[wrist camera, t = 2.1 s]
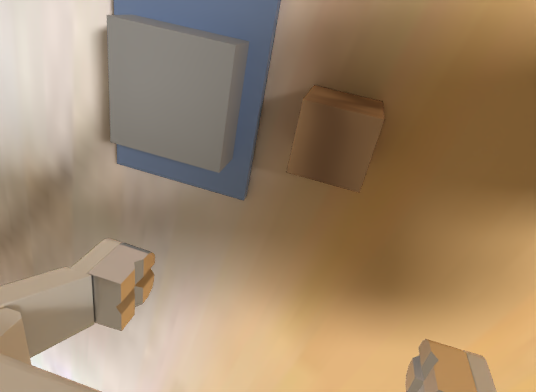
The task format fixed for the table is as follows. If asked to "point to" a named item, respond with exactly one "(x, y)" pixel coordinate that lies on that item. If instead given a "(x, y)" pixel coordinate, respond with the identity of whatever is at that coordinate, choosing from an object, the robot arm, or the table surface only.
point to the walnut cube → (335, 137)
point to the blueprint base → (254, 89)
